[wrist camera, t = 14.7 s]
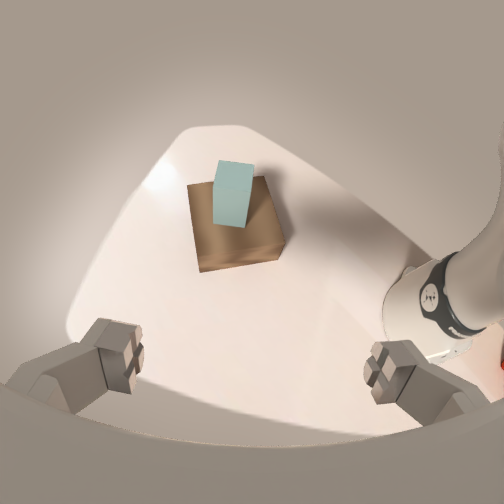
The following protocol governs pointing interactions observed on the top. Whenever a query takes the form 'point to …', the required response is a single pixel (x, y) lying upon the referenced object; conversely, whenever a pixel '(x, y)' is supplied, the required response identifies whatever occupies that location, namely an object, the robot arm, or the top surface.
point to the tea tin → (232, 193)
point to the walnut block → (235, 230)
